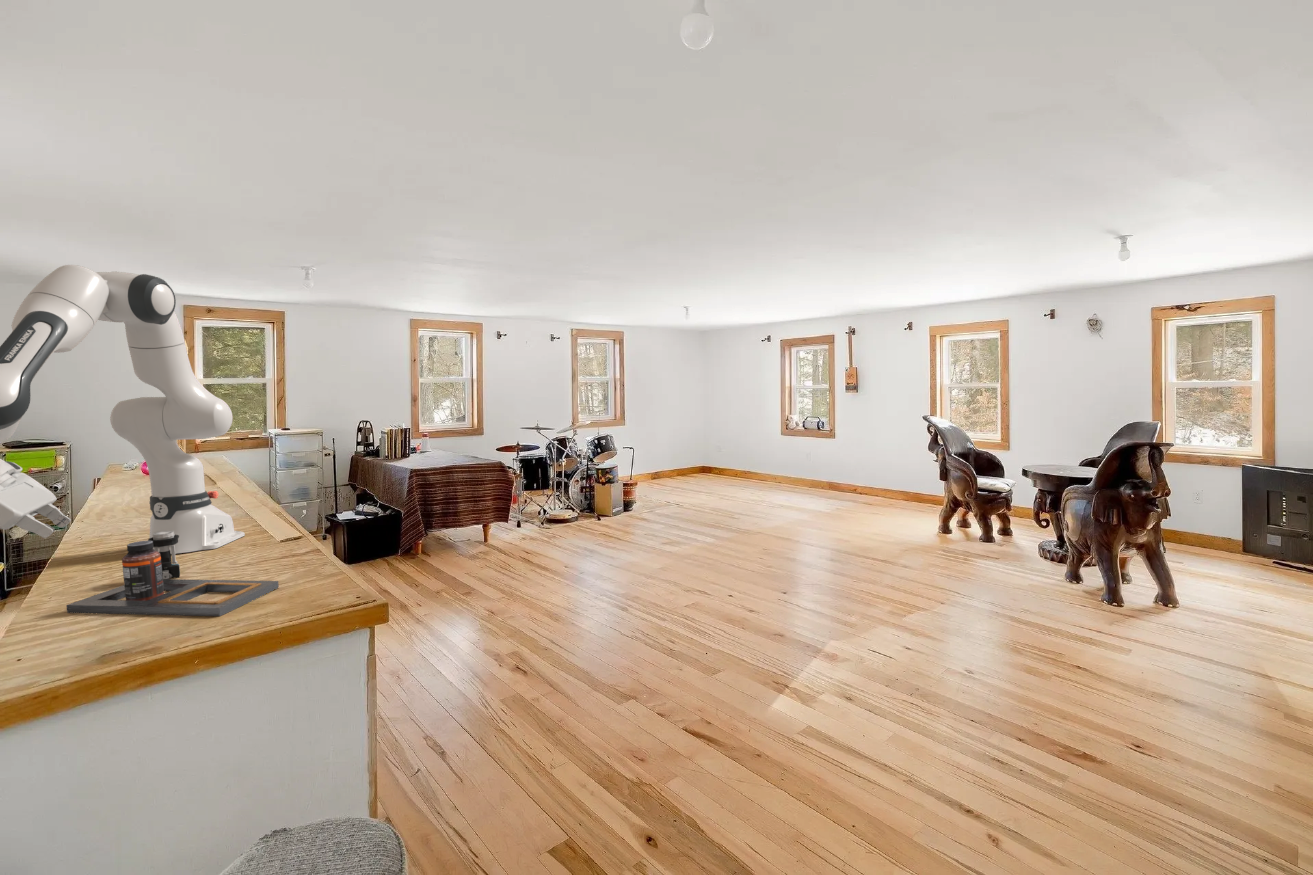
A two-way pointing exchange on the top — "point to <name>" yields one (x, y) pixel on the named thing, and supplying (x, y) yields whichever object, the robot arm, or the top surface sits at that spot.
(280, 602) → the top surface
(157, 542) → the push button
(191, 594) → the grey rectangular frame
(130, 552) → the supplement bottle
